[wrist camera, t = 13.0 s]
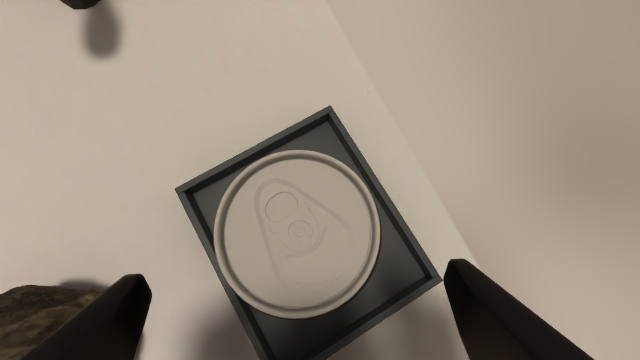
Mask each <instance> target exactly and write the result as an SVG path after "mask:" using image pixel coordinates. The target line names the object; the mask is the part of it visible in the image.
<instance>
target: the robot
mask: <svg viewBox="0 0 640 360" xmlns="http://www.w3.org/2000/svg"><path fill="white" fill-rule="evenodd" d="M61 1H62V2H63V3H65V4H67V5H68V6H70V7H72V8H73V9H87V8H89V7H91V6H93V5H95V4H96V3H98V2H99V1H100V0H61Z"/></svg>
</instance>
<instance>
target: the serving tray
mask: <svg viewBox="0 0 640 360" xmlns="http://www.w3.org/2000/svg"><path fill="white" fill-rule="evenodd" d="M288 150H307V151H314V152H318V153H322V154H325V155H328V156H330V157H332V158H334V159H336V160H338V161H340V162H342V163H343V164H345V165H346V166H347V167H349V168H350V169H351V170H352V171H353V172H355V173H356V174H357V175H358V176H359V177H360V178H361V179H362V181H363V182H364V183H365V185H366V186H367V187H368V189H369V190H370V192H371V194H372V196H373V198H374V200H375V202H376V205H377V208H378V211H379V214H380V219H381V226H382V244H381V251H380V256H379V259H378V262H377V265H376V268H375V270H374V272H373V274H372V276H371V278H370V280H369V281H368V283H367V284H366V285H365V287H364V288H363V289H362V291H361V292H360V293H359V294H358V295H357V296H356V297H355V298H354V299H353V300H352V301H351V302H349V303H348V304H347V305H345V306H344V307H342V308H341V309H339V310H337V311H335V312H333V313H331V314H328V315H326V316H323V317H320V318H316V319H310V320H300V321H294V320H285V319H280V318H276V317H272V316H269V315H267V314H265V313H262V312H260V311H258V310H257V309H255V308H253V307H252V306H251V305H249V304H248V303H247V302H245V301H244V300H243V299H242V298H241V297H240V296H239V295H238V294H237V293H236V292H235V291H234V290H233V288H232V287H231V286H230V285H229V284H228V282H227V280H226V278H225V277H224V275H223V273H222V271H221V268H220V266H219V263H218V260H217V257H216V252H215V246H214V225H215V218H216V214H217V211H218V208H219V205H220V202H221V200H222V198H223V196H224V194H225V192H226V191H227V189H228V188H229V186H230V185H231V183H232V182H233V181H234V180H235V178H236V177H237V176H238V175H239V174H240V173H241V172H243V171H244V170H245V169H246V168H247V167H248V166H250V165H251V164H253V163H255V162H256V161H258V160H260V159H262V158H264V157H266V156H269V155H271V154H275V153H278V152H283V151H288ZM175 191H176V193H177V194H178V197H179V199H180V201H181V203H182V205H183V207H184V209H185V211H186V213H187V215H188V217H189V219H190V221H191V223H192V225H193V227H194V229H195V231H196V233H197V235H198V237H199V239H200V241H201V243H202V245H203V247H204V249H205V251H206V253H207V255H208V257H209V259H210V261H211V263H212V265H213V267H214V269H215V271H216V273H217V275H218V277H219V279H220V281H221V283H222V285H223V287H224V289H225V291H226V293H227V295H228V297H229V299H230V301H231V303H232V305H233V307H234V309H235V311H236V313H237V315H238V317H239V319H240V321H241V323H242V325H243V327H244V329H245V331H246V333H247V335H248V337H249V339H250V341H251V343H252V345H253V347H254V349H255V351H256V353H257V355H258V357H259V359H260V360H325V359H326V358H328V357H329V356H331V355H332V354H334V353H335V352H337V351H338V350H340V349H341V348H343V347H344V346H346V345H347V344H349V343H350V342H352V341H353V340H355V339H356V338H358V337H359V336H361V335H362V334H364V333H365V332H367V331H368V330H370V329H371V328H373V327H374V326H376V325H377V324H379V323H380V322H382V321H383V320H385V319H386V318H388V317H389V316H391V315H392V314H394V313H395V312H397V311H398V310H400V309H401V308H403V307H404V306H406V305H407V304H409V303H410V302H412V301H413V300H415V299H416V298H418V297H419V296H421V295H422V294H424V293H425V292H427V291H428V290H430V289H431V288H433V287H434V286H436V285H437V284H439V283H440V282H442V281H443V280H442V279H441V277H440V275H438V272H437V271H436V269H435V268H434V266H433V264H432V263H431V261H430V260H429V258H428V257H427V255H426V254H425V252H424V250H423V249H422V247H421V246H420V244H419V243H418V241H417V240H416V238H415V236H414V235H413V233H412V232H411V230H410V229H409V227H408V225H407V224H406V222H405V221H404V219H403V218H402V216H401V215H400V213H399V211H398V210H397V208H396V207H395V205H394V204H393V202H392V201H391V199H390V197H389V196H388V194H387V193H386V191H385V190H384V188H383V186H382V185H381V183H380V182H379V180H378V179H377V177H376V176H375V174H374V172H373V171H372V169H371V168H370V166H369V165H368V163H367V161H366V160H365V158H364V157H363V155H362V154H361V152H360V151H359V149H358V147H357V146H356V144H355V143H354V141H353V140H352V138H351V137H350V135H349V133H348V132H347V130H346V129H345V127H344V126H343V124H342V122H341V121H340V119H339V118H338V116H337V115H336V113H335V112H334V111H333V108H332V107H331V106H328V107H326V108H324V109H322V110H321V111H319V112H317V113H315V114H313V115H311V116H309V117H308V118H306V119H304V120H302V121H300V122H298V123H296V124H294V125H293V126H291V127H289V128H287V129H285V130H283V131H281V132H280V133H278V134H276V135H274V136H272V137H270V138H268V139H266V140H265V141H263V142H261V143H259V144H257V145H255V146H253V147H252V148H250V149H248V150H246V151H244V152H242V153H240V154H239V155H237V156H235V157H233V158H231V159H229V160H227V161H225V162H224V163H222V164H220V165H218V166H216V167H214V168H212V169H211V170H209V171H207V172H205V173H203V174H201V175H199V176H197V177H196V178H194V179H192V180H190V181H188V182H186V183H184V184H183V185H181V186H179V187H177V188H175Z"/></svg>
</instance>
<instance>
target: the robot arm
mask: <svg viewBox="0 0 640 360" xmlns="http://www.w3.org/2000/svg"><path fill="white" fill-rule="evenodd" d="M444 286H445V289H446V292H447V295H448V299H449V302H450V305H451V309H452V312H453V315H454V318H455V322H456V325H457V328H458V331H459V334H460V337H461V340H462V342H463V345H464V347H465V349H466V352H467V354H468V357H469V359H470V360H594V359H593V358H592V357H590V356H589V355H587V354H586V353H585V352H584V351H583V350H581V349H580V348H579V347H577V346H576V345H575V344H574V343H572V342H571V341H570V340H568V339H567V338H566V337H565V336H563V335H562V334H561V333H559V332H558V331H557V330H556V329H554V328H553V327H552V326H550V325H549V324H548V323H547V322H545V321H544V320H543V319H541V318H540V317H539V316H538V315H536V314H535V313H534V312H532V311H531V310H530V309H529V308H527V307H526V306H525V305H524V304H522V303H521V302H520V301H518V300H517V299H516V298H515V297H513V296H512V295H511V294H509V293H508V292H507V291H505V290H504V289H503V288H502V287H500V286H499V285H498V284H497V283H495V282H494V281H493V280H492V279H490V278H489V277H488V276H486V275H485V274H484V273H483V272H481V271H480V270H479V269H477V268H476V267H475V266H474V265H472V264H471V263H470V262H468V261H467V260H465V259H451V260H450V261H449V263H448V266H447V269H446V272H445V275H444ZM151 299H152V292H151V289H150V288H149V286H148V284H147V282H146V280H145V278H144V276H143V275H141V274H128V275H125V276H123V277H122V278H121V279H119V280H118V281H117V282H116V283H114V284H113V285H112V286H111V287H109V288H108V289H107V290H106V291H104V292H103V293H102V294H101V295H99V296H98V297H97V298H96V299H94V300H93V301H92V302H91V303H89V304H88V305H87V306H86V307H84V308H83V309H82V310H81V311H79V312H78V313H77V314H76V315H74V316H73V317H72V318H71V319H69V320H68V321H67V322H66V323H64V324H63V325H62V326H61V327H59V328H58V329H57V330H56V331H54V332H53V333H52V334H51V335H49V336H48V337H47V338H46V339H44V340H43V341H42V342H41V343H39V344H38V345H37V346H36V347H34V348H33V349H32V350H30V351H29V352H28V353H27V354H25V355H24V356H23V357H22V358H20V359H19V360H133V359H134V356H135V354H136V351H137V348H138V344H139V341H140V337H141V334H142V330H143V327H144V324H145V320H146V317H147V313H148V310H149V306H150V303H151Z"/></svg>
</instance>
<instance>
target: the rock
mask: <svg viewBox="0 0 640 360" xmlns="http://www.w3.org/2000/svg"><path fill="white" fill-rule="evenodd" d="M101 294H102V293H100V292H98V291H97V290H95V289H88V290H81V291H80V290H74V289H68V288H62V287H55V286H37V285H25V286H21V287H16V288H13V289H11V290H9V291H7V292H5V293H3V294H0V360H19V359H20V358H22V357H23V356H24V355H25V354H27V353H28V352H29V351H30V350H32V349H33V348H34V347H36V346H37V345H38V344H39V343H41V342H42V341H43V340H44V339H46V338H47V337H48V336H49V335H51V334H52V333H53V332H54V331H56V330H57V329H58V328H59V327H61V326H62V325H63V324H64V323H66V322H67V321H68V320H69V319H71V318H72V317H73V316H74V315H76V314H77V313H78V312H79V311H81V310H82V309H83V308H84V307H86V306H87V305H88V304H89V303H91V302H92V301H93V300H94V299H96V298H97V297H98V296H99V295H101Z"/></svg>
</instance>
